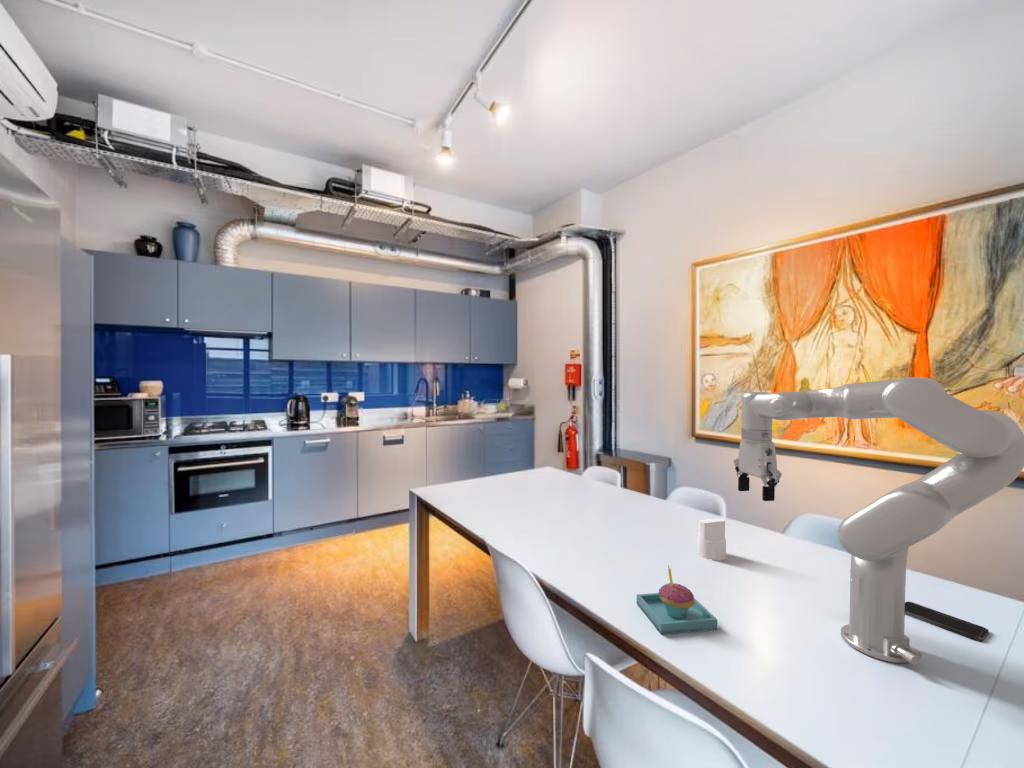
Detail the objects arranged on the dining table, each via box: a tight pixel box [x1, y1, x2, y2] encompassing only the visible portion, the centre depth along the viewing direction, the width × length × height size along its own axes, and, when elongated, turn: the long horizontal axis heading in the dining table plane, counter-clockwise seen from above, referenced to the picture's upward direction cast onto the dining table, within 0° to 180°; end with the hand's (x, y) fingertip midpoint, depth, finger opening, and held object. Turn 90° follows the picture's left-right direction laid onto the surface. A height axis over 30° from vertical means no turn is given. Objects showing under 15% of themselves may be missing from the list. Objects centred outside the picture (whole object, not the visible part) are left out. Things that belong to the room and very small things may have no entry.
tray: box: [636, 592, 718, 635], centre depth 107 cm, size 14×15×2 cm
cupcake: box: [658, 565, 695, 618], centre depth 107 cm, size 9×8×12 cm
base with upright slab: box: [696, 517, 727, 561], centre depth 144 cm, size 9×9×12 cm
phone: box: [905, 601, 990, 643], centre depth 105 cm, size 8×1×15 cm
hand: (755, 495), depth 117 cm, fingers open, 9 cm apart
